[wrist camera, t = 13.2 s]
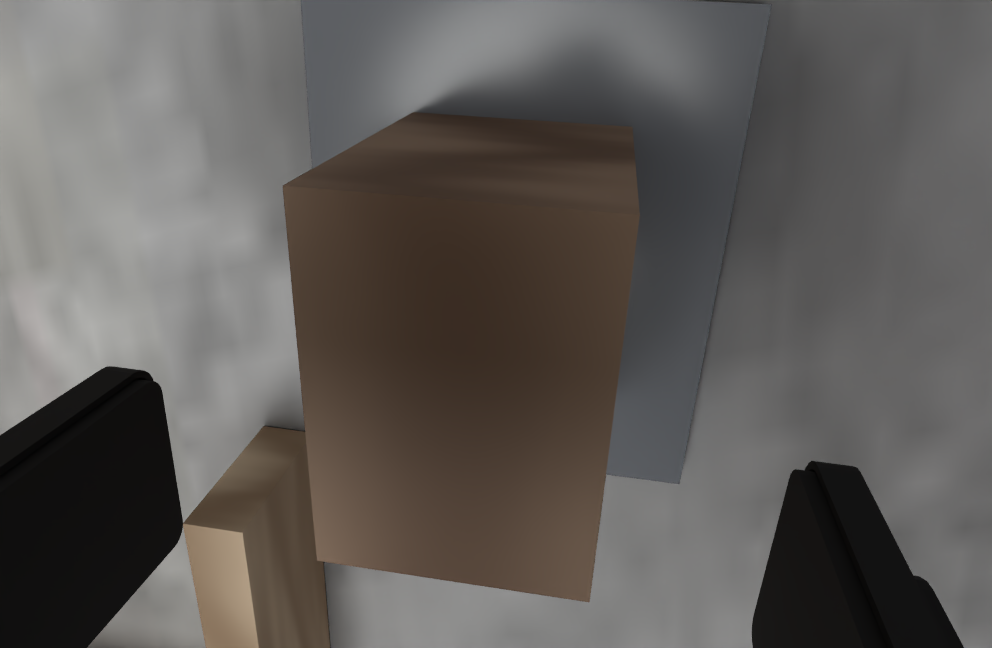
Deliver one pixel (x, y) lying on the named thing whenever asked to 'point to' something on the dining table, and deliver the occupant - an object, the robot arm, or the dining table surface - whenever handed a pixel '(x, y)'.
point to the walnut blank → (464, 345)
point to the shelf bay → (260, 550)
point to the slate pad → (589, 100)
